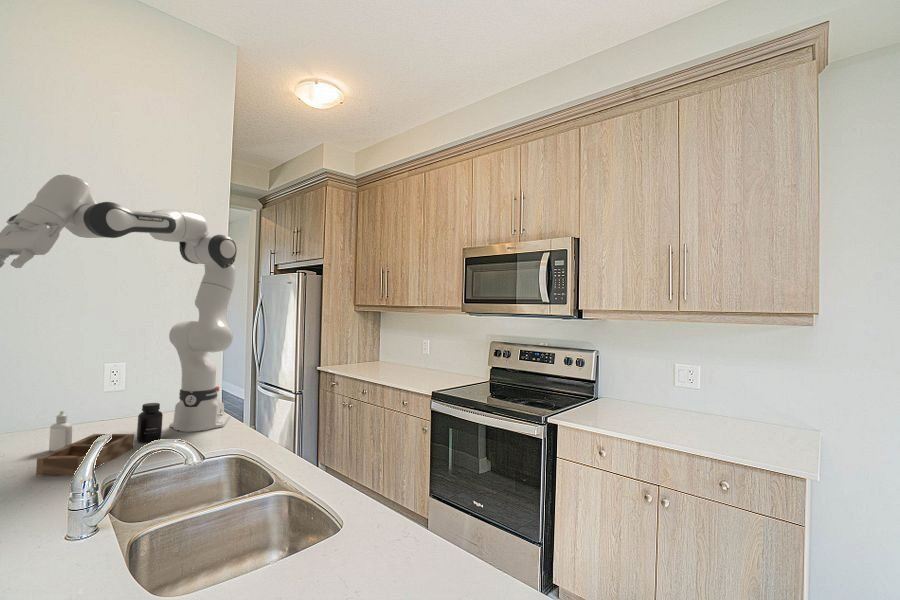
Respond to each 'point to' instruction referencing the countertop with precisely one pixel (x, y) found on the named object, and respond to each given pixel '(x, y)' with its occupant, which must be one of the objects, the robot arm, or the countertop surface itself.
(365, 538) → the countertop surface
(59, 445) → the eye dropper bottle
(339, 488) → the countertop surface
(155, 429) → the supplement bottle
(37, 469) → the wooden divided tray
